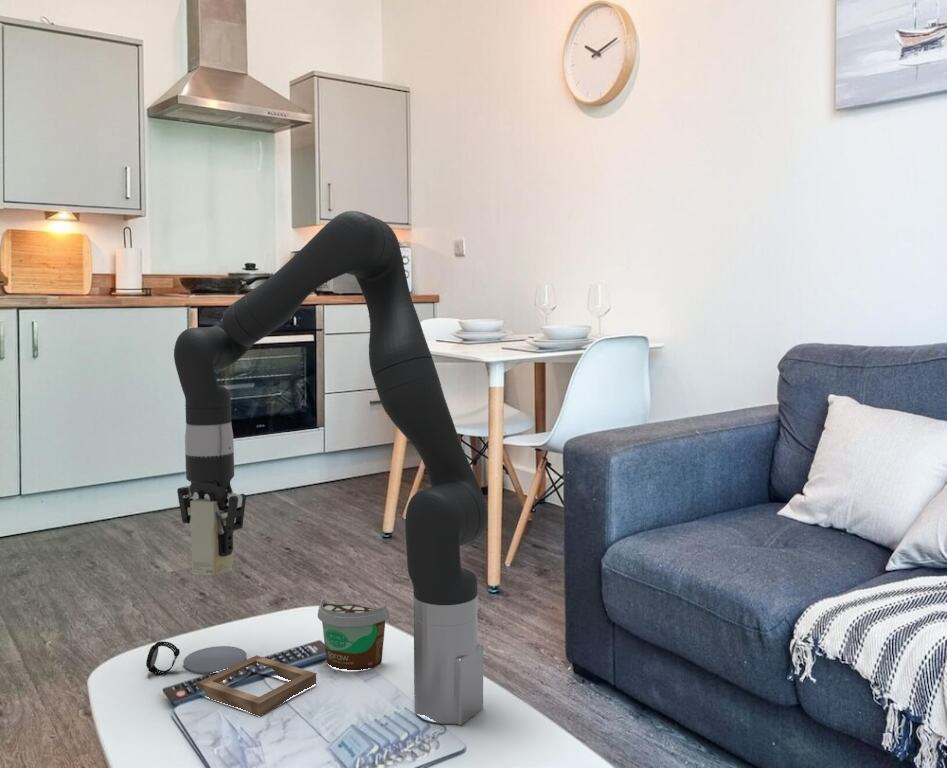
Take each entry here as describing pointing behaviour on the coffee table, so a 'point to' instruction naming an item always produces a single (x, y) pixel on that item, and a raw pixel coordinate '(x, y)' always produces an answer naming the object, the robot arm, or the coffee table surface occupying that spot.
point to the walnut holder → (251, 702)
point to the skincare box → (206, 539)
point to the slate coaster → (213, 659)
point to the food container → (353, 635)
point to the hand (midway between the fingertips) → (212, 552)
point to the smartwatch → (153, 656)
